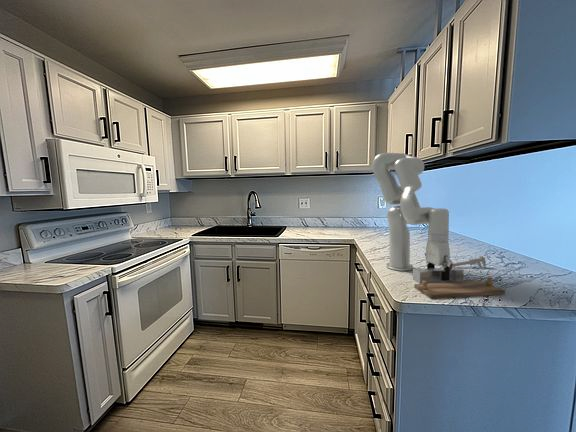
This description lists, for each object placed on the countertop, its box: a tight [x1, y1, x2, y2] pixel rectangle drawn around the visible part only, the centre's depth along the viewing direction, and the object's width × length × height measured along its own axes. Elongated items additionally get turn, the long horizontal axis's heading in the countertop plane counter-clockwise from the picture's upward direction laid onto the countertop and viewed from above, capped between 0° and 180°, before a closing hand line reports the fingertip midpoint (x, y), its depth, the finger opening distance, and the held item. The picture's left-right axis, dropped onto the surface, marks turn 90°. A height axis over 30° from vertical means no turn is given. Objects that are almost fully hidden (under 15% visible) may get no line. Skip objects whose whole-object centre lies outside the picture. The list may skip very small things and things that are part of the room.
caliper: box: [444, 254, 487, 268], centre depth 129 cm, size 20×1×6 cm, turn 83°
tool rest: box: [413, 276, 506, 300], centre depth 100 cm, size 11×28×4 cm, turn 93°
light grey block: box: [412, 266, 465, 284], centre depth 112 cm, size 6×19×5 cm, turn 93°
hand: (437, 276), depth 112 cm, fingers open, 9 cm apart
